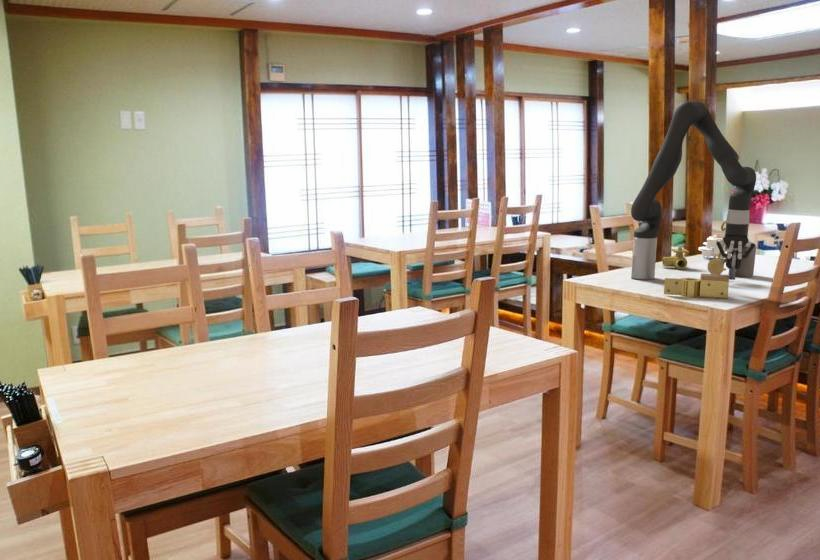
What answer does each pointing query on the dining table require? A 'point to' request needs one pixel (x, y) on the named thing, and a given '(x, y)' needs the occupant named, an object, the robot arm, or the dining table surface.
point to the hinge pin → (733, 264)
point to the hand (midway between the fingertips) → (732, 268)
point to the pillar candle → (746, 264)
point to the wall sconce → (717, 260)
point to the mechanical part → (711, 247)
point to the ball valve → (676, 259)
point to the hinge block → (699, 286)
